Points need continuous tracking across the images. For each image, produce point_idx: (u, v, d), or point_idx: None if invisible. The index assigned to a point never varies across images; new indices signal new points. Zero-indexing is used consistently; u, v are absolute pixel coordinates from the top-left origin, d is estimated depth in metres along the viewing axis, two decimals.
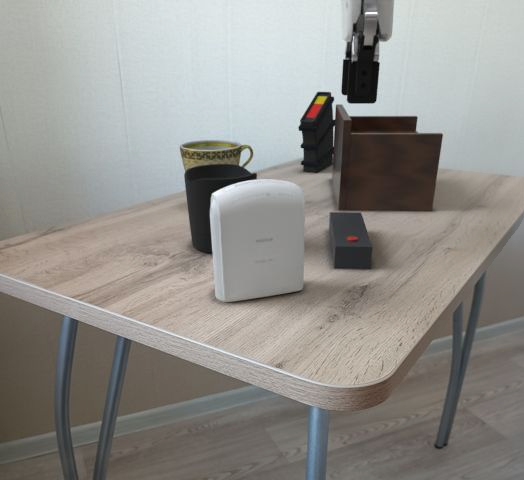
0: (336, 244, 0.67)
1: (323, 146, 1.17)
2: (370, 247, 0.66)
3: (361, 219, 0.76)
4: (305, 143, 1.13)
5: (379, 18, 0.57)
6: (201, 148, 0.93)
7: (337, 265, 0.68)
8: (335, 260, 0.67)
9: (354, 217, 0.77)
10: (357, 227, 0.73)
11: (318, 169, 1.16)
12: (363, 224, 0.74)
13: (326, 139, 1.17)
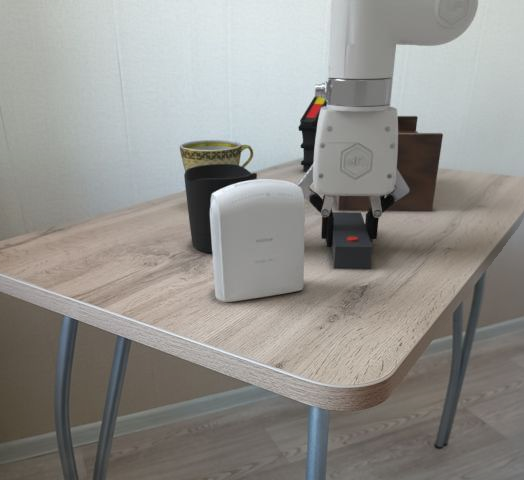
0: (336, 244, 0.67)
1: None
2: (370, 247, 0.66)
3: (361, 219, 0.76)
4: (305, 143, 1.13)
5: None
6: (201, 148, 0.93)
7: (337, 265, 0.68)
8: (335, 260, 0.67)
9: (354, 217, 0.77)
10: (357, 227, 0.73)
11: None
12: (363, 224, 0.74)
13: None
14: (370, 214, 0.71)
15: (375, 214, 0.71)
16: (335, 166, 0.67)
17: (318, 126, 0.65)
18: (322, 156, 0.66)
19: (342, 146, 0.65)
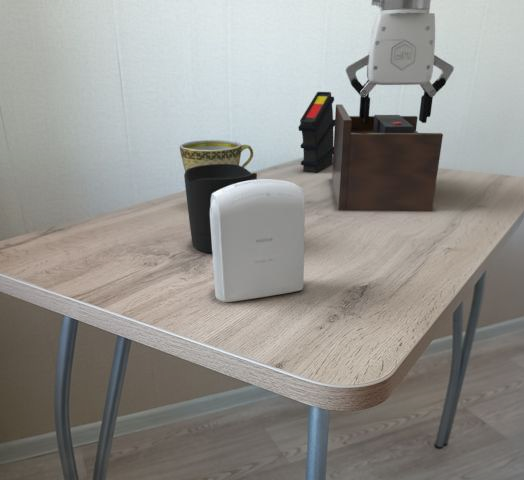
0: (385, 125, 0.88)
1: (323, 146, 1.17)
2: (412, 127, 0.87)
3: (400, 117, 0.97)
4: (305, 143, 1.13)
5: (368, 70, 0.89)
6: (201, 148, 0.93)
7: None
8: None
9: (394, 116, 0.98)
10: (398, 120, 0.94)
11: (318, 169, 1.16)
12: (403, 119, 0.95)
13: (326, 139, 1.17)
14: (426, 94, 0.91)
15: (430, 94, 0.90)
16: (386, 59, 0.87)
17: (374, 28, 0.86)
18: (377, 51, 0.87)
19: (392, 43, 0.86)
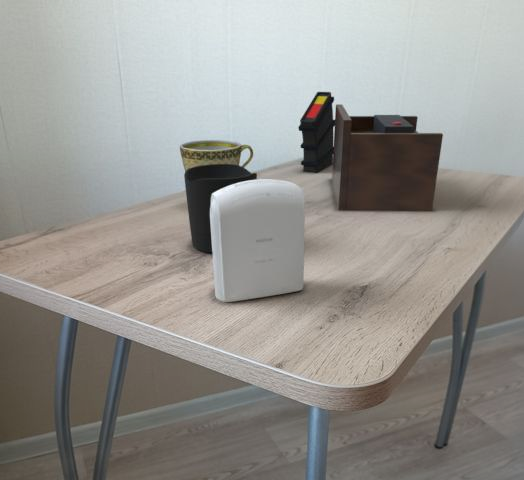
0: (385, 125, 0.88)
1: (323, 146, 1.17)
2: (412, 127, 0.87)
3: (400, 117, 0.97)
4: (305, 143, 1.13)
5: None
6: (201, 148, 0.93)
7: None
8: None
9: (394, 116, 0.98)
10: (398, 120, 0.94)
11: (318, 169, 1.16)
12: (403, 119, 0.95)
13: (326, 139, 1.17)
14: None
15: None
16: None
17: None
18: None
19: None
